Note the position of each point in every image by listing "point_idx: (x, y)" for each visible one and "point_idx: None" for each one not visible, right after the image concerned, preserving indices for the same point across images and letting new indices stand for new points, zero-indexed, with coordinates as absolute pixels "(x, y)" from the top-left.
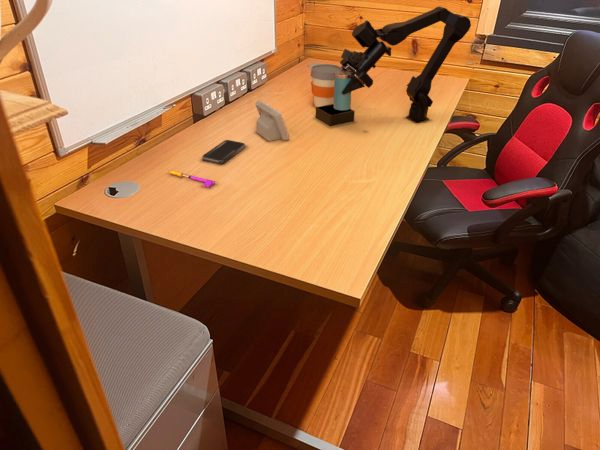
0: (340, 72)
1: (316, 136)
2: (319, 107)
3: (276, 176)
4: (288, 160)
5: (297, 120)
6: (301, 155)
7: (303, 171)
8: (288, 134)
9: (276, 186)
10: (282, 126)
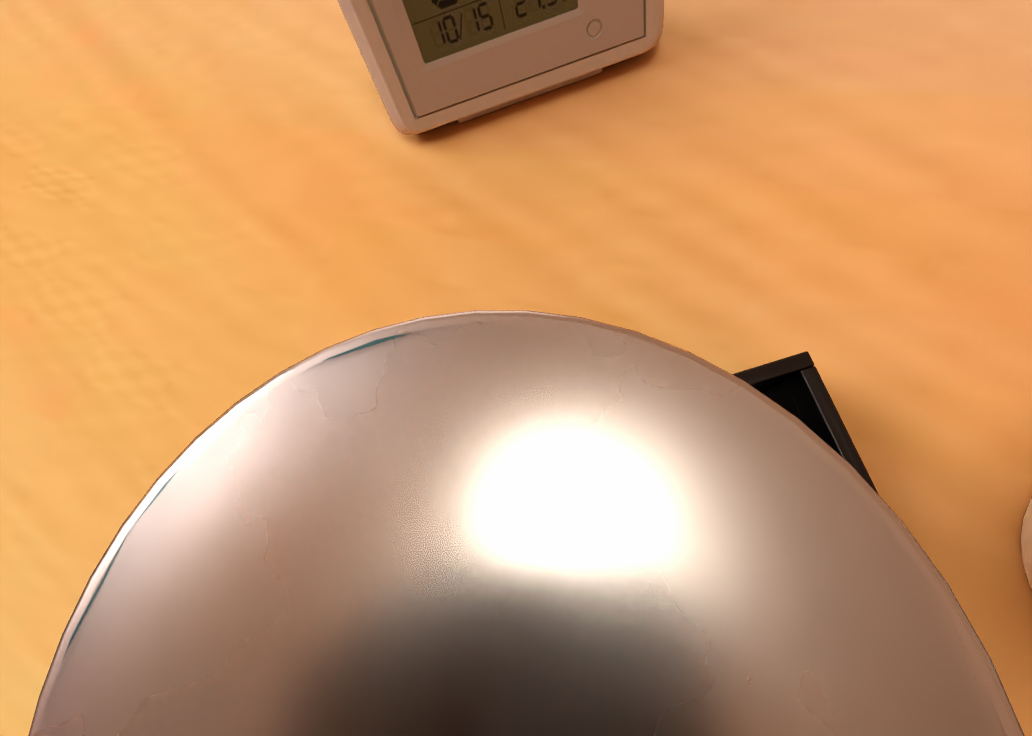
0: (543, 606)
1: (428, 309)
2: (806, 388)
3: (84, 60)
4: (194, 117)
5: (742, 241)
6: (218, 181)
7: (71, 165)
8: (395, 111)
9: (17, 55)
10: (347, 17)
